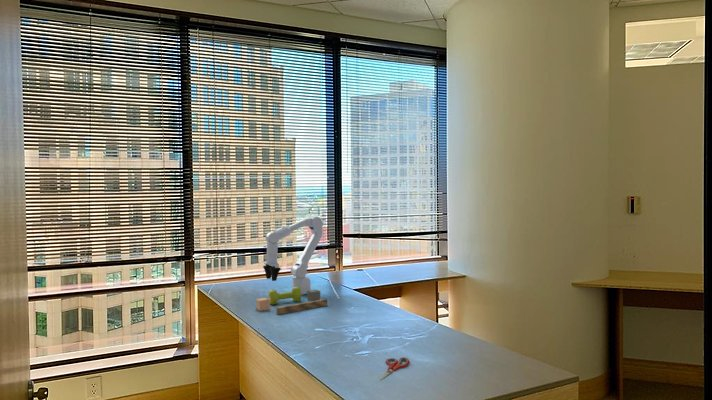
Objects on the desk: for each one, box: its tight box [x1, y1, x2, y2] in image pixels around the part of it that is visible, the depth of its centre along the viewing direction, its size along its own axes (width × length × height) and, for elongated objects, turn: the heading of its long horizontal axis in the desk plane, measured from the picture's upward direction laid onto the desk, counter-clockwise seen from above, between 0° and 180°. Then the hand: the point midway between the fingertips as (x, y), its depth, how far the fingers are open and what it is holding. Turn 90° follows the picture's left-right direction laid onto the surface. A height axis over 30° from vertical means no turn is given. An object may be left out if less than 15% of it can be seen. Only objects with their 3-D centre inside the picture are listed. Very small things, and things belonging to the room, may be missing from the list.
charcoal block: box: [306, 289, 322, 302], centre depth 255 cm, size 5×5×5 cm
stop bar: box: [276, 298, 328, 316], centre depth 236 cm, size 26×2×3 cm, turn 123°
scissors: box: [377, 356, 410, 383], centre depth 153 cm, size 8×21×2 cm, turn 165°
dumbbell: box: [268, 287, 302, 306], centre depth 253 cm, size 16×8×7 cm, turn 113°
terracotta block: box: [255, 297, 271, 312], centre depth 240 cm, size 5×5×5 cm
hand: (271, 279), depth 266 cm, fingers open, 7 cm apart
